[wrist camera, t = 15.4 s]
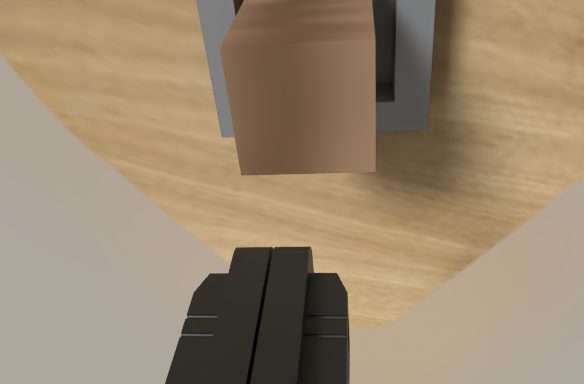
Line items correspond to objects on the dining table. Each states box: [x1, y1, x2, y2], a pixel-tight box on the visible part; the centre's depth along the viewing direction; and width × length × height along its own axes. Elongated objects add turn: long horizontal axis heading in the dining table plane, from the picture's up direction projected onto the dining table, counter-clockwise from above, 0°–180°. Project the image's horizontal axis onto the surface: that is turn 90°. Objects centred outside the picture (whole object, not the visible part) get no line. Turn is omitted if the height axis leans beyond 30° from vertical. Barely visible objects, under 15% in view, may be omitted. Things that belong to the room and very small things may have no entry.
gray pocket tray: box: [196, 0, 436, 137], centre depth 24 cm, size 10×10×2 cm
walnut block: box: [219, 0, 376, 175], centre depth 21 cm, size 4×4×9 cm
